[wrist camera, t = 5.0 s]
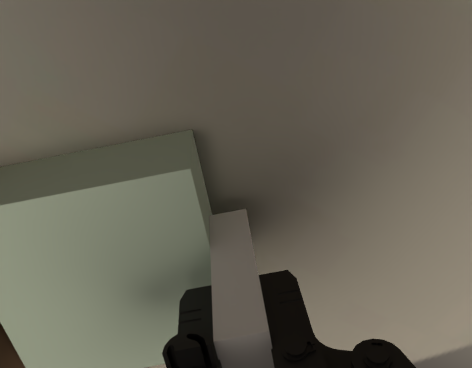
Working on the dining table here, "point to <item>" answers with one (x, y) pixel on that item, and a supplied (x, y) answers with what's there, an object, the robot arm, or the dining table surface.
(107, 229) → the block
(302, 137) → the dining table surface
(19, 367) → the board
